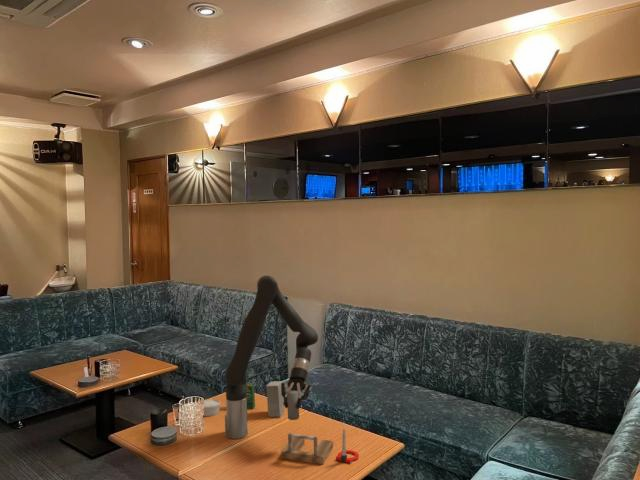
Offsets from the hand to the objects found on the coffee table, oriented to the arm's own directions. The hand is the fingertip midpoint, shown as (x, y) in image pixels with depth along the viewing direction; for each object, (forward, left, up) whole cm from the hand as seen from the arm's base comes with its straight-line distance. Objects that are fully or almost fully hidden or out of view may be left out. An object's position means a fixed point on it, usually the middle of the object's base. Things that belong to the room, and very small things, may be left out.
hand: (291, 407), depth 194 cm
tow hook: (+24, 0, -19) cm, 30 cm away
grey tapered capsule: (0, +2, -5) cm, 6 cm away
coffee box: (-40, +37, -19) cm, 58 cm away
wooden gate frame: (+7, -1, -18) cm, 20 cm away
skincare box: (-22, +33, -19) cm, 44 cm away
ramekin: (-56, +26, -19) cm, 65 cm away
